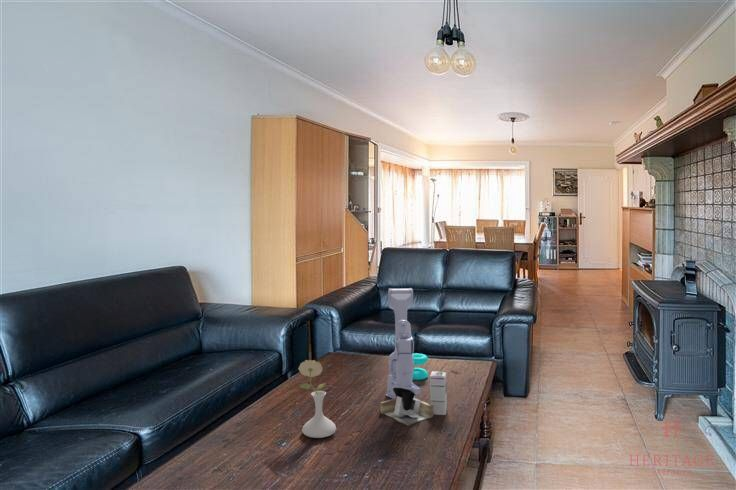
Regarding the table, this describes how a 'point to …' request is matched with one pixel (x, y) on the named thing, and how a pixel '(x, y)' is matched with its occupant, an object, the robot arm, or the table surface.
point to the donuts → (419, 372)
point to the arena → (423, 414)
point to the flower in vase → (316, 404)
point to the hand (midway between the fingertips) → (404, 408)
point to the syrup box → (438, 392)
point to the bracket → (412, 412)
